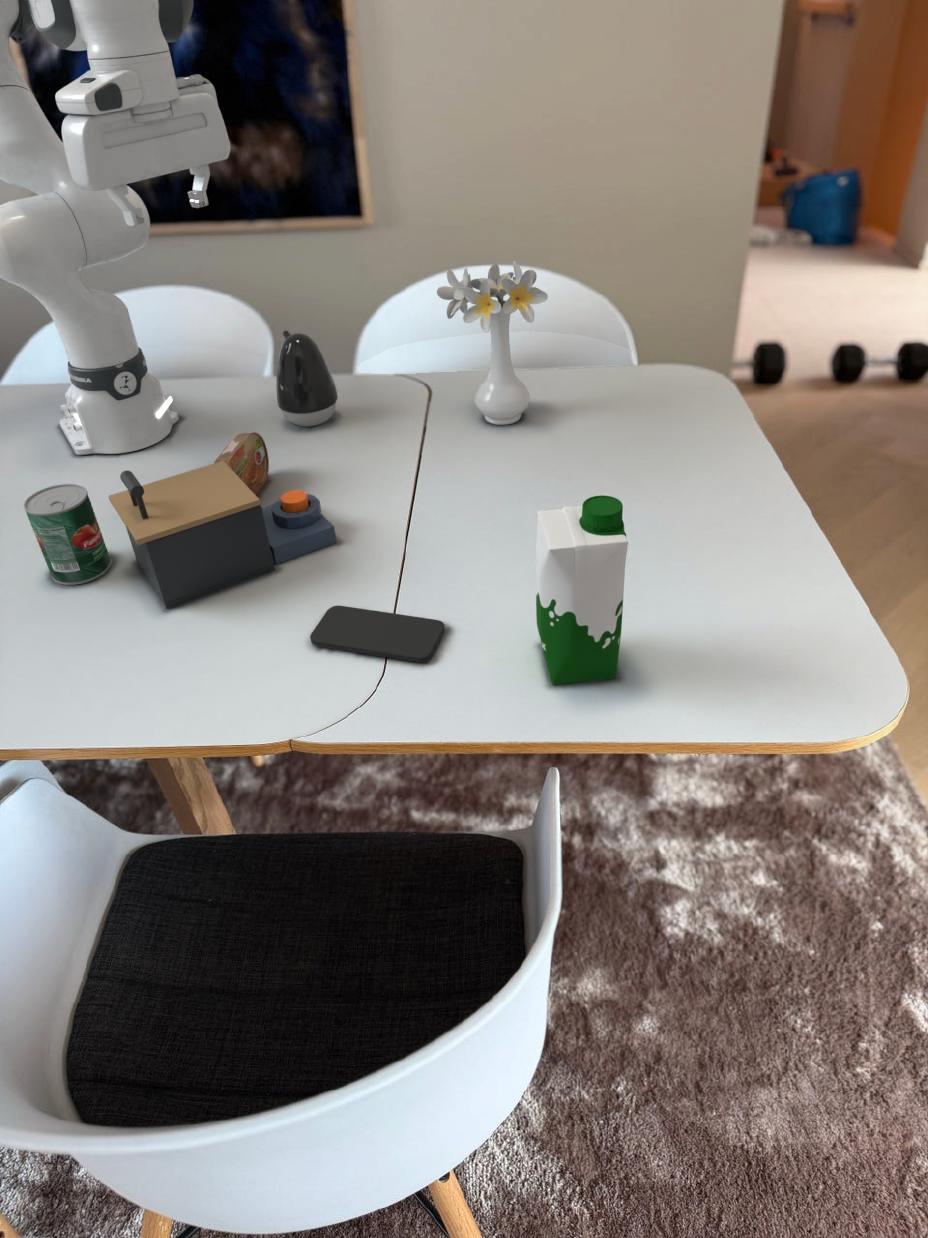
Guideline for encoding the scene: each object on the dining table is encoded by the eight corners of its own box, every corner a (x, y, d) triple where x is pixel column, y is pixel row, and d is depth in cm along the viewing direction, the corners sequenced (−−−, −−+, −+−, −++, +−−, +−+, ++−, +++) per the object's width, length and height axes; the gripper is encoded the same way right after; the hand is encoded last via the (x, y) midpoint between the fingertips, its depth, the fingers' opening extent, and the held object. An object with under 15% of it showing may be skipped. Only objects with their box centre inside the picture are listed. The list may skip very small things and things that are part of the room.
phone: (427, 659, 103) (306, 640, 107) (427, 665, 103) (307, 645, 107) (447, 620, 109) (331, 603, 112) (447, 626, 109) (332, 609, 113)
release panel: (276, 564, 122) (270, 536, 119) (246, 530, 130) (240, 502, 127) (338, 542, 126) (333, 514, 123) (306, 509, 133) (301, 482, 131)
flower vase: (467, 395, 163) (458, 249, 147) (563, 410, 155) (564, 258, 140) (432, 425, 154) (418, 273, 138) (532, 442, 146) (530, 284, 131)
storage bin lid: (138, 545, 109) (125, 506, 106) (109, 501, 118) (97, 463, 115) (260, 504, 115) (252, 466, 112) (224, 465, 124) (215, 429, 121)
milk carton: (626, 683, 99) (636, 525, 87) (543, 691, 99) (542, 534, 87) (609, 634, 106) (616, 481, 94) (532, 641, 106) (529, 490, 94)
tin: (236, 522, 132) (223, 470, 126) (216, 521, 132) (202, 469, 127) (273, 472, 143) (263, 422, 138) (255, 471, 144) (244, 422, 139)
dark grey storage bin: (166, 609, 115) (145, 543, 109) (137, 562, 124) (116, 499, 119) (275, 570, 121) (261, 505, 115) (239, 528, 130) (224, 465, 124)
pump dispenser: (325, 402, 164) (311, 318, 154) (350, 421, 156) (338, 334, 147) (272, 417, 160) (255, 332, 150) (296, 438, 152) (279, 350, 143)
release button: (289, 517, 124) (286, 505, 123) (278, 506, 126) (276, 495, 125) (313, 508, 125) (311, 497, 124) (302, 498, 128) (300, 487, 127)
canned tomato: (50, 562, 126) (22, 492, 119) (108, 547, 128) (84, 477, 121) (53, 591, 120) (24, 519, 113) (114, 575, 122) (89, 504, 116)
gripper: (194, 71, 111) (220, 194, 119) (40, 97, 98) (81, 232, 107) (226, 71, 107) (251, 198, 115) (71, 99, 95) (111, 238, 103)
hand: (168, 215), depth 111 cm, fingers open, 8 cm apart
